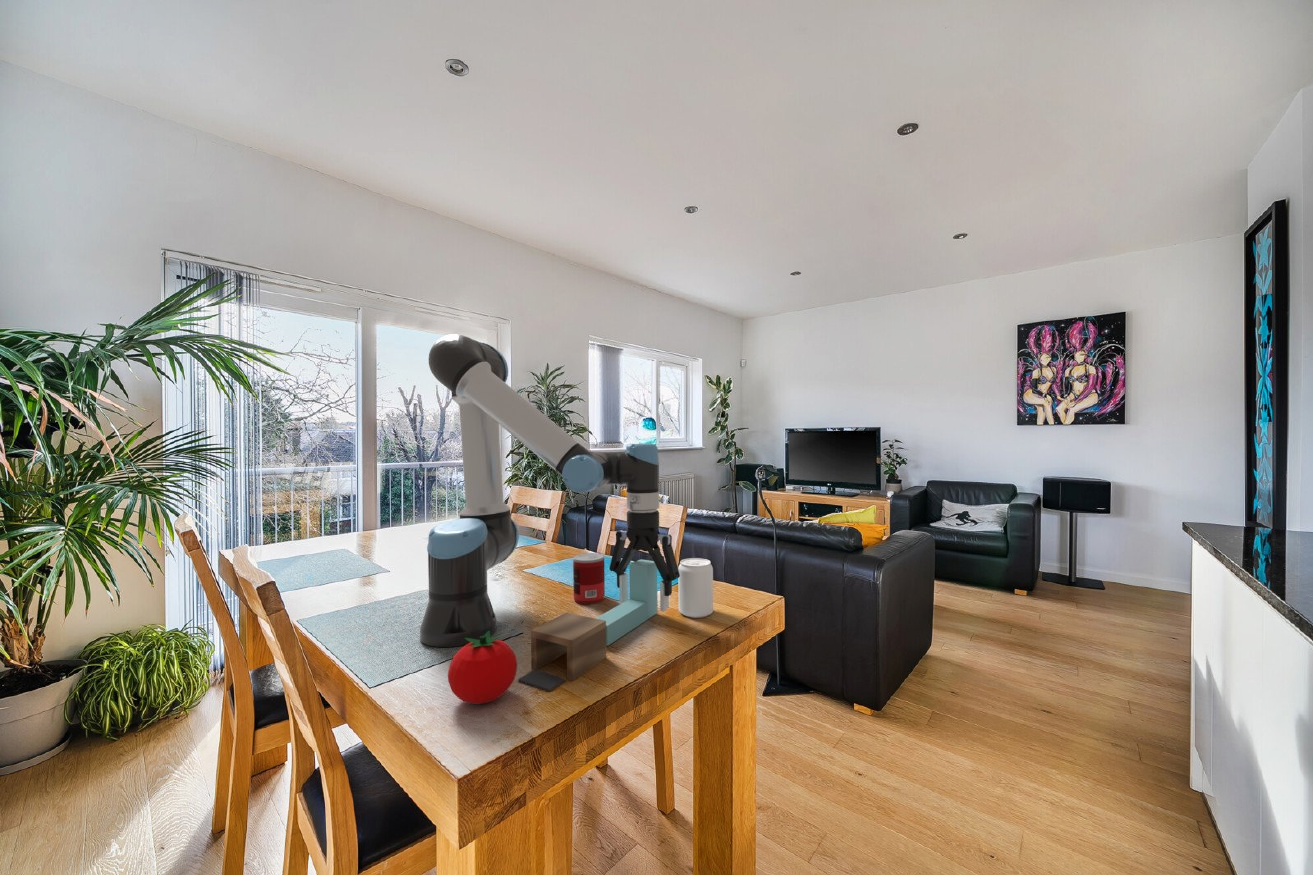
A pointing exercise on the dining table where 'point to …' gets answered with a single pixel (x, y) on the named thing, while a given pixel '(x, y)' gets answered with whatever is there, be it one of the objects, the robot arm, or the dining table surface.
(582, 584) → the canned food
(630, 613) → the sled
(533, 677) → the pad
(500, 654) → the tomato
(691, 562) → the beverage can
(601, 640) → the tunnel
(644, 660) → the dining table surface
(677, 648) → the dining table surface
